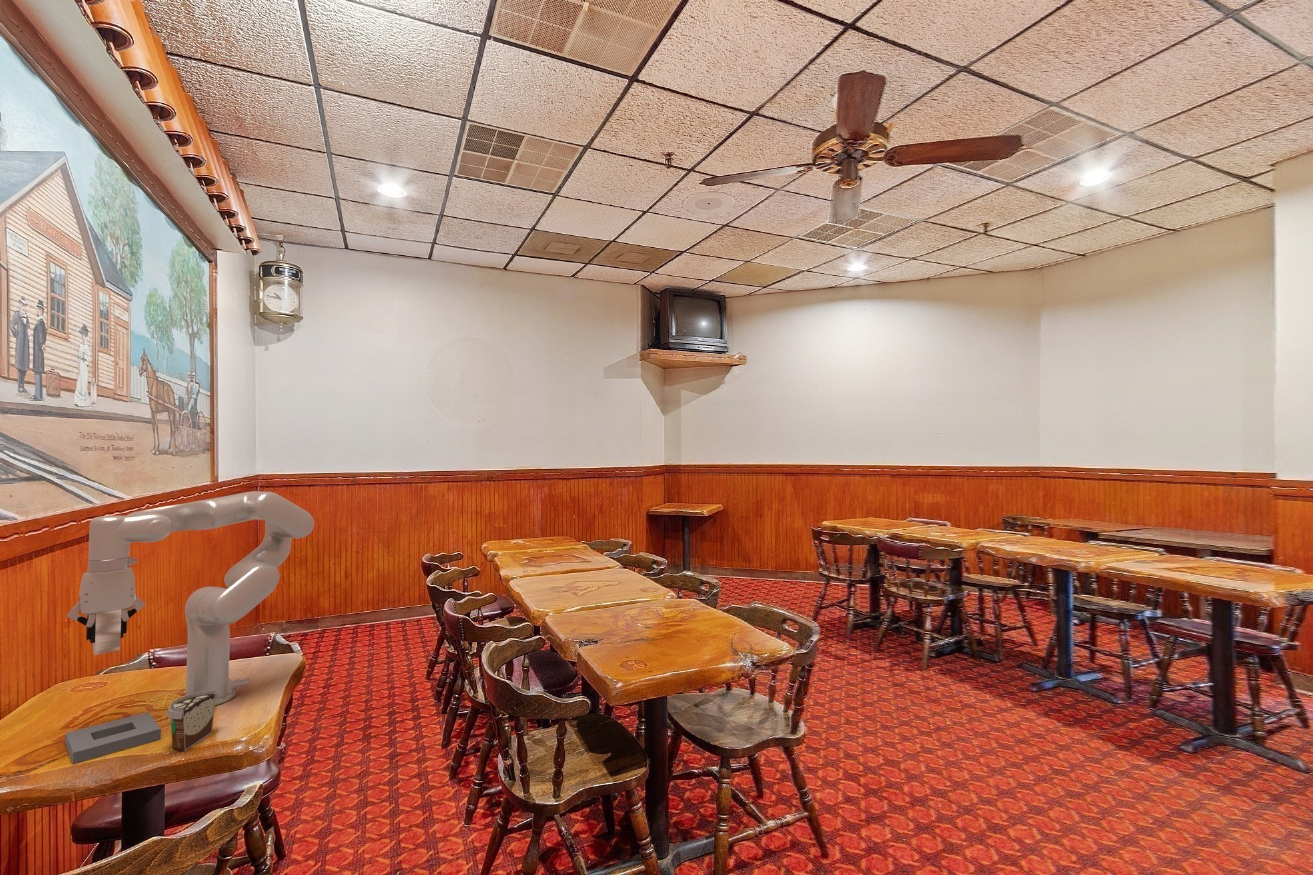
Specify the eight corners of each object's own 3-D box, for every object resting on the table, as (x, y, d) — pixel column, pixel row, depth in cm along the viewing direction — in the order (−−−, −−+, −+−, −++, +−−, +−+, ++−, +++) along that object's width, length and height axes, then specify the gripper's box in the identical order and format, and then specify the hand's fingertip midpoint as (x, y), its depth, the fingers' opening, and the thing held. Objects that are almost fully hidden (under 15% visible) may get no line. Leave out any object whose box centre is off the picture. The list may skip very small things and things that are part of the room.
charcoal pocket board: (147, 721, 150) (147, 711, 150) (160, 739, 140) (160, 728, 140) (65, 743, 138) (65, 732, 139) (73, 763, 129) (73, 752, 129)
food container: (190, 730, 145) (191, 690, 145) (216, 729, 145) (217, 689, 146) (151, 755, 133) (152, 711, 133) (180, 754, 133) (181, 709, 133)
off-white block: (116, 646, 147) (118, 606, 148) (120, 650, 144) (121, 609, 145) (92, 650, 144) (93, 610, 144) (95, 654, 141) (96, 613, 141)
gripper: (150, 559, 154) (148, 629, 153) (59, 568, 141) (56, 644, 140) (156, 562, 149) (154, 634, 148) (62, 572, 136) (59, 651, 135)
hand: (106, 638), depth 144 cm, fingers closed on off-white block, 4 cm apart
